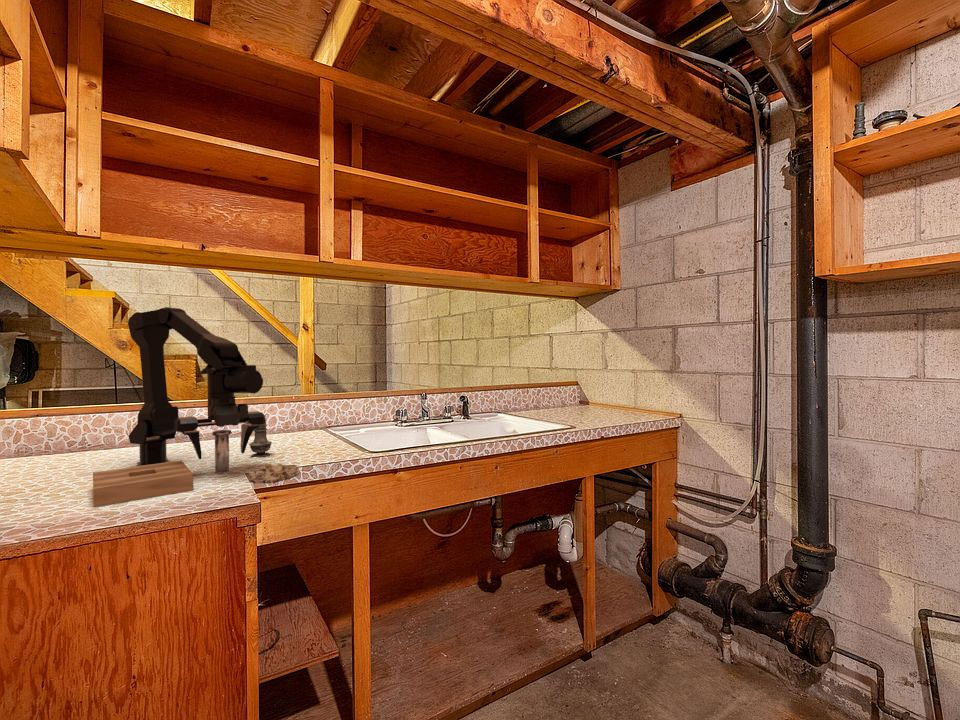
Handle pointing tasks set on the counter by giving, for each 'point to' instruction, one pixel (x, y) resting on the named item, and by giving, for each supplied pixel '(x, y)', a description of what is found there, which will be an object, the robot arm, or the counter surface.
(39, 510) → the counter surface
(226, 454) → the pin
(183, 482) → the socket block
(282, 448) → the counter surface
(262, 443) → the salt shaker
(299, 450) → the counter surface
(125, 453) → the counter surface
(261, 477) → the mineral rock
